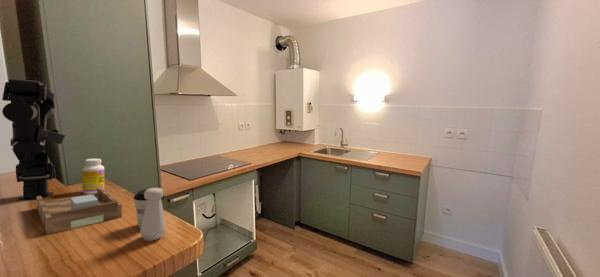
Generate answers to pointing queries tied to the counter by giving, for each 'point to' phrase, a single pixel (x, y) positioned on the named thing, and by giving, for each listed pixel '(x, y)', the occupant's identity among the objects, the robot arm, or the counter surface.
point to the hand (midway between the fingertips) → (27, 171)
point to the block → (83, 201)
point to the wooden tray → (77, 212)
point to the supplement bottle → (92, 176)
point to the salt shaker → (153, 215)
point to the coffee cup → (140, 206)
